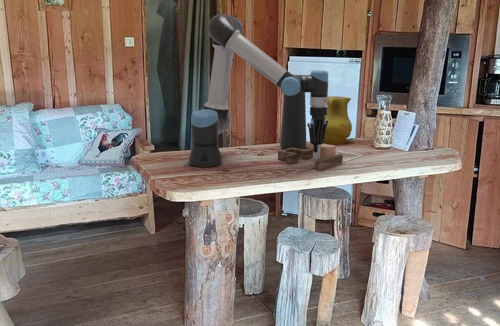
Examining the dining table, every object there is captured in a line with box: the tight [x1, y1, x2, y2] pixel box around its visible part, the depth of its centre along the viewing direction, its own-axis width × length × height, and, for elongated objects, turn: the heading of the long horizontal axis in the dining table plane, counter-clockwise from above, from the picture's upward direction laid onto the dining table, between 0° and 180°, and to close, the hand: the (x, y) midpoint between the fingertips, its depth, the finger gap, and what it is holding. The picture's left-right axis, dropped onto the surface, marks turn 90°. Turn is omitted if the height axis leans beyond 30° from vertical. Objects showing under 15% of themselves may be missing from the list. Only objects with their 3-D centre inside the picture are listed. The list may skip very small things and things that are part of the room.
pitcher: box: [323, 95, 353, 145], centre depth 264 cm, size 17×19×25 cm
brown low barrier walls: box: [277, 148, 344, 172], centre depth 221 cm, size 26×18×4 cm
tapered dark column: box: [279, 92, 307, 150], centre depth 249 cm, size 14×14×29 cm
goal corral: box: [335, 149, 364, 163], centre depth 233 cm, size 17×16×1 cm
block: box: [313, 143, 337, 162], centre depth 223 cm, size 7×7×7 cm
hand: (316, 158), depth 219 cm, fingers closed
